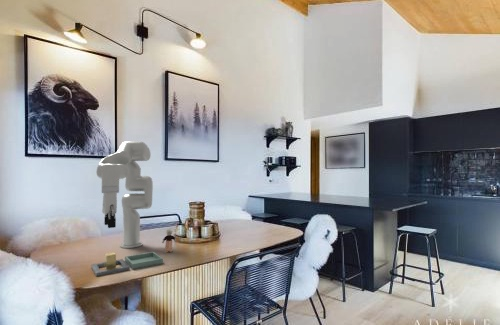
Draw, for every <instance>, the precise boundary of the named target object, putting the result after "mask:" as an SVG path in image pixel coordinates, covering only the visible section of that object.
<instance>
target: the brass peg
mask: <svg viewBox="0 0 500 325" xmlns="http://www.w3.org/2000/svg"><path fill="white" fill-rule="evenodd" d="M116 260H117V254H116V253H115V252H107V253H104V262H105V267H104V270H107V269H113V268H117V264H116Z"/></svg>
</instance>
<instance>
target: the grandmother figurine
mask: <svg viewBox="0 0 500 325" xmlns="http://www.w3.org/2000/svg"><path fill="white" fill-rule="evenodd" d="M172 234H173V230H172V229H166V236H164V238H163V239H162V241H161V243H162V244H165V246H164V247H165V248H164V253H166V252H167V253H172V251H173V242H177V239H176V237H175V236H174V235H172Z"/></svg>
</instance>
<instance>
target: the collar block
mask: <svg viewBox="0 0 500 325" xmlns="http://www.w3.org/2000/svg"><path fill="white" fill-rule="evenodd" d="M116 265H119V267H116V268H113V269H107V270H105V269H103V270H101V268H105V261H104V262H99V263H91V264H90V266H91V270H92V271H93V273H94V275H95V277H100V276H106V275H111V274H115V273H116V274H117V273H121V272H122V273H123V272H126V271H130V269H131V267H130V266H129V265H128V264H127V263H126V262H125V259H123V258H121V259H116Z"/></svg>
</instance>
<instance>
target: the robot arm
mask: <svg viewBox="0 0 500 325" xmlns="http://www.w3.org/2000/svg"><path fill="white" fill-rule="evenodd" d="M150 159H151V150H150V148H149V147H148V145H147V144H146V143H145V142H144V141H140V140H139V141H136V140H135V141H133V140H131V141H129V140H127V141H123V142H122V143H121V144H120V145H119V147H118V149H117V151H116V152H115V153H112V154H110V155H107V156H105V157H104V158H102V159H101V160H100V161H99V163H98V165H97V167H96V176H97V177H98V178H99V179H101V194H103V195H102V211H101V212H102V214H104V223H103V224H104V225H105V226H107V228H108V229H112V228H116V224H117V223H116V222H117V221H116V220H117V219H116V218H117V217H116V214H117V208H118V206H117V205H118V203H117V202H118V198H117V196H118V195H117V194H119V193H120V180H123V179H125V185H124V187H125V190H126V191H128V192H136V193H126V194H123V195H122V197H121V207H122V214H123V215H122V217H123V218H122V242H121V243H120V244H119V246H120V248H122V249H133V248H134V249H135V248H139V247H141V246H143V242H142V241H141V235H140V234H141V216H140V214H139V212H138V211H137V210H148V209H150V208H151V207H152V205H153V190H154V187H153V186H154V185H153V179H152V177H151V176H148V175H141V172H142V171H141V170H142V169H141V167H140V165H139V164H138V163H137V162H147V161H149V160H150ZM137 192H143V193H137Z"/></svg>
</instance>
